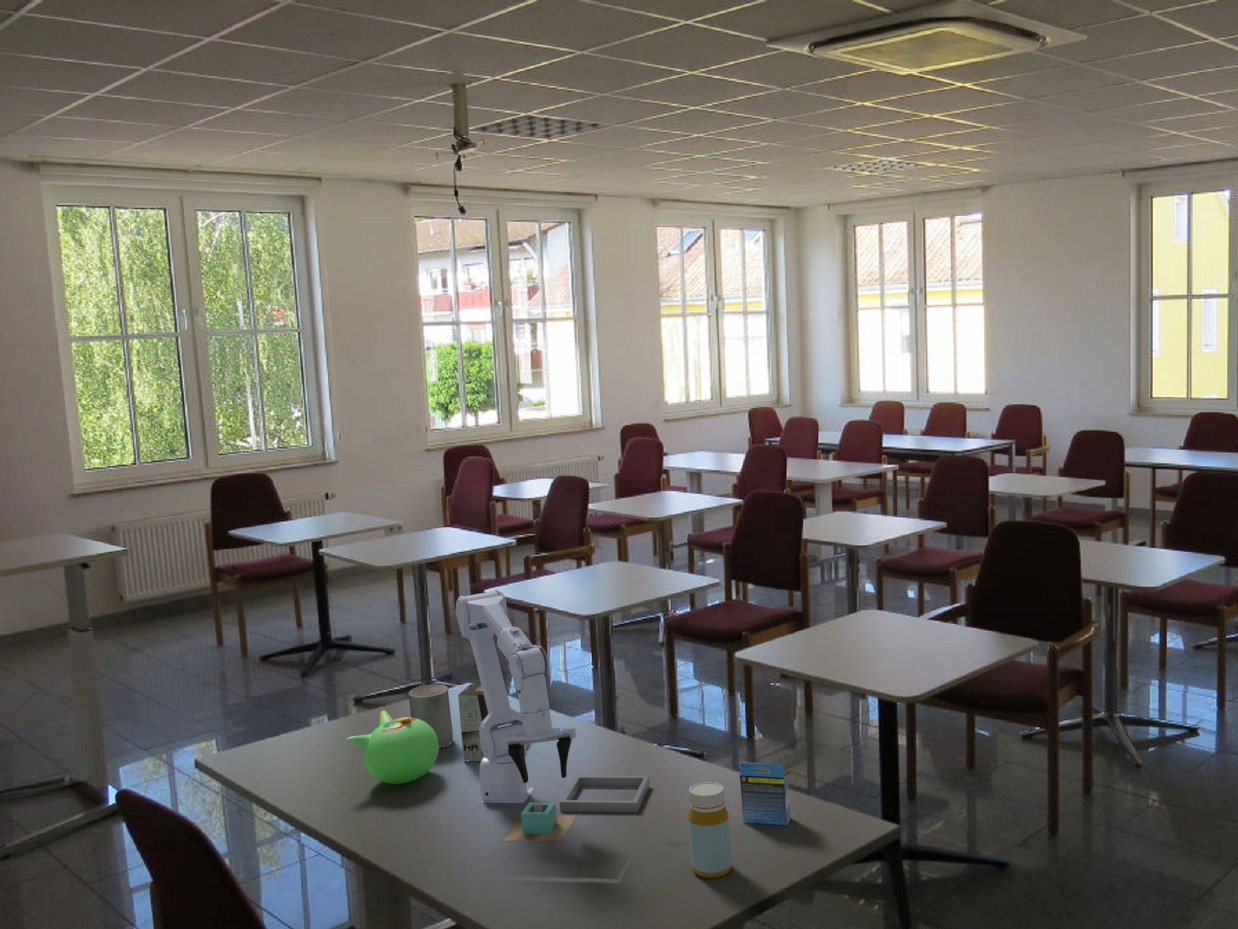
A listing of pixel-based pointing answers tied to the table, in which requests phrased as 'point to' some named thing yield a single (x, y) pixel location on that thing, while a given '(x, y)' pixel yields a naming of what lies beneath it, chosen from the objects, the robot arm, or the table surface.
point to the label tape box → (764, 794)
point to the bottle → (709, 830)
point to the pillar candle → (433, 710)
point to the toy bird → (398, 749)
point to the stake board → (554, 836)
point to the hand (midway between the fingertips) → (545, 779)
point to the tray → (605, 782)
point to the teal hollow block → (538, 819)
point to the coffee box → (472, 720)
